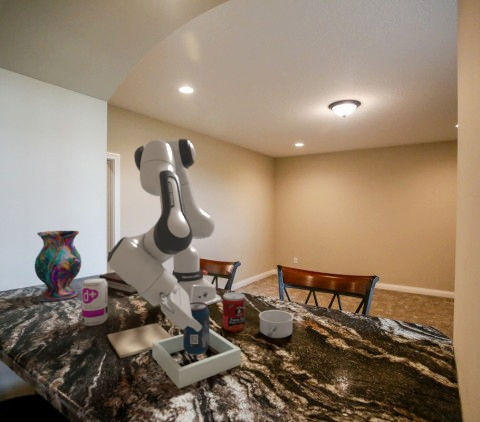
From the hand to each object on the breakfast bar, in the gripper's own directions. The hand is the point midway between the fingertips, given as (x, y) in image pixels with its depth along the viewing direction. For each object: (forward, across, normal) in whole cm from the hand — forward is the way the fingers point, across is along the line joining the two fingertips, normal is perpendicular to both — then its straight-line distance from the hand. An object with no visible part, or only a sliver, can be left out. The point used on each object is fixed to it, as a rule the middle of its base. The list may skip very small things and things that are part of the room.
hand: (198, 322), depth 78 cm
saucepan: (+25, +8, -10) cm, 28 cm away
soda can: (+5, 0, +6) cm, 8 cm away
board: (-4, +16, +19) cm, 25 cm away
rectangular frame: (+6, 0, +8) cm, 10 cm away
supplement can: (-17, +34, +32) cm, 50 cm away
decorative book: (-12, +80, +29) cm, 86 cm away
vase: (-34, +71, +49) cm, 92 cm away
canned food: (+17, +19, -2) cm, 26 cm away
